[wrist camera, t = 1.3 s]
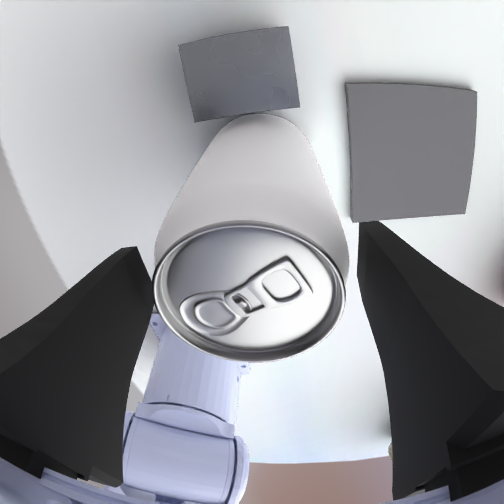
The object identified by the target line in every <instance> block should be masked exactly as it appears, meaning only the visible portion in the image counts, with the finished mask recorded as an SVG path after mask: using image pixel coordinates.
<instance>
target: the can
mask: <svg viewBox="0 0 504 504" xmlns="http://www.w3.org/2000/svg"><path fill="white" fill-rule="evenodd" d="M154 261H155V271H154V274H153V279H152V295H153V300H154V304H155V307H156V309H157V311H158V313H159V315H160V317H161V319H162V320H163V322H164V323H165V324H166V325H167V327H168V328H169V329H170V330H171V331H172V332H173V333H174V334H175V335H176V336H177V337H179V338H180V339H181V340H183V341H184V342H185V343H187V344H188V345H190V346H192V347H193V348H195V349H197V350H199V351H201V352H204V353H206V354H209V355H211V356H214V357H217V358H221V359H225V360H230V361H236V362H246V363H263V362H273V361H278V360H283V359H287V358H290V357H294V356H296V355H299V354H301V353H304V352H306V351H308V350H309V349H311V348H313V347H315V346H316V345H318V344H319V343H320V342H322V341H323V340H324V339H325V338H326V337H327V336H328V335H329V334H330V333H331V332H332V331H333V330H334V328H335V327H336V325H337V324H338V322H339V320H340V318H341V316H342V314H343V311H344V307H345V300H346V290H345V284H346V281H347V277H348V272H349V253H348V246H347V241H346V238H345V234H344V231H343V228H342V225H341V222H340V219H339V216H338V213H337V210H336V207H335V205H334V202H333V199H332V197H331V194H330V191H329V189H328V186H327V183H326V181H325V178H324V176H323V173H322V171H321V168H320V166H319V164H318V161H317V159H316V156H315V154H314V152H313V150H312V147H311V145H310V143H309V142H308V140H307V138H306V137H305V135H304V134H303V133H302V132H301V131H300V130H299V129H298V128H297V127H296V126H295V125H293V124H292V123H291V122H289V121H287V120H285V119H283V118H281V117H278V116H275V115H270V114H250V115H245V116H242V117H239V118H237V119H235V120H233V121H231V122H230V123H228V124H227V125H225V126H224V127H223V128H222V129H221V130H220V131H219V132H218V133H217V135H216V136H215V137H214V139H213V140H212V141H211V143H210V144H209V146H208V147H207V149H206V150H205V152H204V153H203V155H202V156H201V158H200V160H199V161H198V163H197V164H196V166H195V167H194V169H193V171H192V172H191V174H190V175H189V177H188V179H187V180H186V182H185V184H184V185H183V187H182V189H181V190H180V192H179V194H178V195H177V197H176V199H175V201H174V202H173V204H172V206H171V208H170V209H169V211H168V213H167V215H166V217H165V219H164V221H163V223H162V225H161V228H160V230H159V233H158V236H157V239H156V244H155V252H154Z"/></svg>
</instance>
